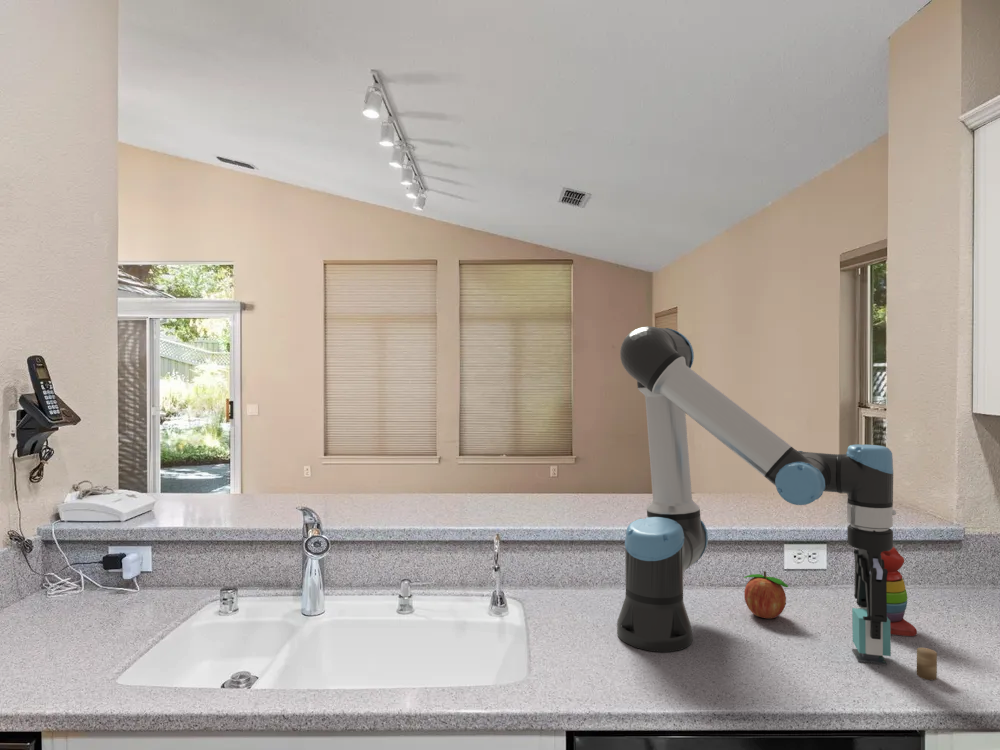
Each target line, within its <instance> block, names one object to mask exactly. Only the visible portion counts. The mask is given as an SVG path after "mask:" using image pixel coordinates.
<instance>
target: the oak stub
mask: <svg viewBox="0 0 1000 750" xmlns="http://www.w3.org/2000/svg"><path fill="white" fill-rule="evenodd" d="M937 661H938V652H937V651H935V650H933V649H931V648H928V647H927V648H926V647H918V648H916V675H917V677H919V678H921V679H923V680H926V681H936V680H937V679H938V662H937Z"/></svg>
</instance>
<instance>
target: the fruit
mask: <svg viewBox="0 0 1000 750" xmlns="http://www.w3.org/2000/svg"><path fill="white" fill-rule="evenodd" d="M743 578H744V579H745V578H751V579H749V581H748V582H747V583H746V585H745V587H744V590H743V591H744V601H745V604H746V606H747V608H748V610H749V611H750V612H751V613H752V614H753V615H755V616H756V617H758V618H761V619H762V618H763V619H775V618H777V617H778V616H780V615H782V613H783V612H784V609H785V607H786V604H787V603H786V602H787V596H786V591H785V589H784V588H789V585H788V584H787V583H785V581H783V580H782V579H779V578H777V577H774V576H767V571H766V570H765V571H764V570H763V574H761V573H754V574H753V573H752V574H749V575H746V576H744V577H743Z"/></svg>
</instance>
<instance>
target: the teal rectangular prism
mask: <svg viewBox="0 0 1000 750" xmlns="http://www.w3.org/2000/svg"><path fill="white" fill-rule="evenodd" d="M851 609H852V611H851V612H852V615H851V617H852V622H851V623H852V625H851V626H852V628H851V629H852V643H853V644H854V646H855V649H857V650H858V651H859V653H864V654H866V652H865V620H863V616H865V617H867V609H858V608H857V607H852V608H851ZM891 635H892V634H891V633H890V620H889V619H888V617H887V622H883V657H884V656H885V657H891V656H892V652H891V649H892V648H891V646H892V645H891V641H892V639H891V638H892V637H891Z"/></svg>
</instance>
